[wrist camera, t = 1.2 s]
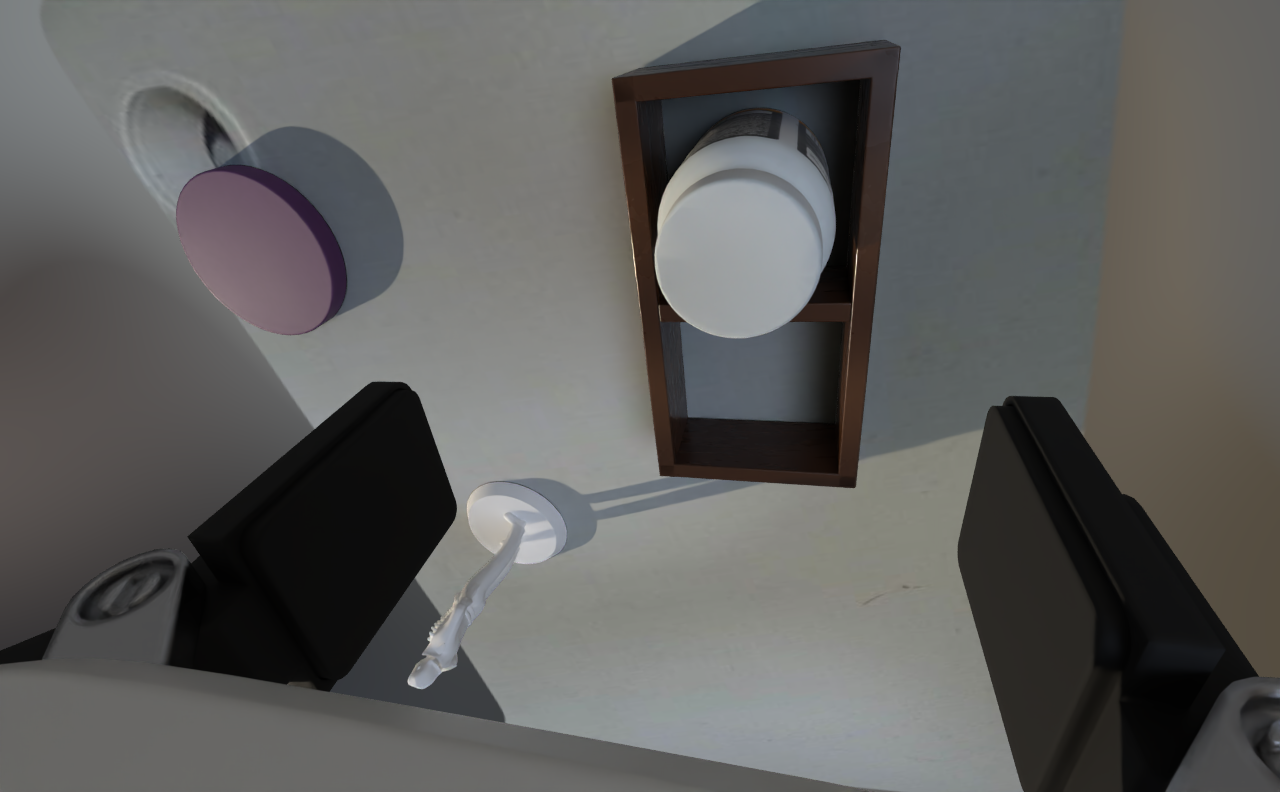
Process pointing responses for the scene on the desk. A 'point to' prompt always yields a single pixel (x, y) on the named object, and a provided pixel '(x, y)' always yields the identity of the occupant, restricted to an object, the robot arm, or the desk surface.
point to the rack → (837, 298)
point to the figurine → (492, 563)
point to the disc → (261, 249)
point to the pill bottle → (746, 225)
